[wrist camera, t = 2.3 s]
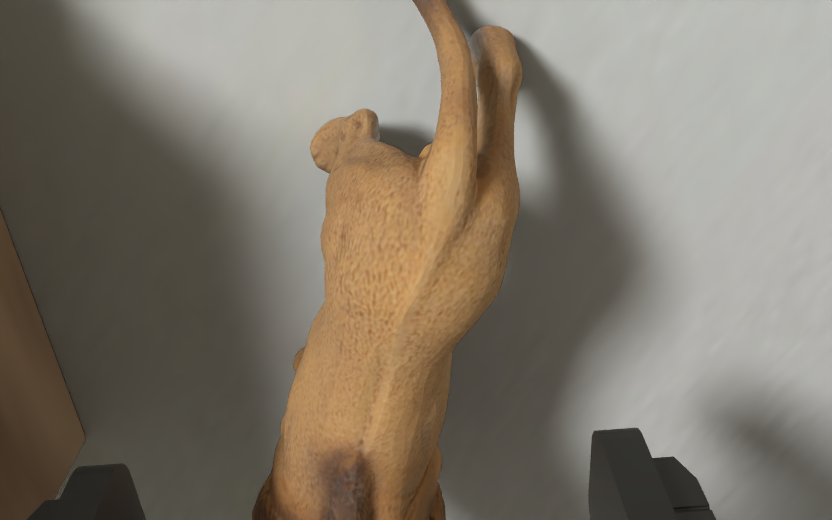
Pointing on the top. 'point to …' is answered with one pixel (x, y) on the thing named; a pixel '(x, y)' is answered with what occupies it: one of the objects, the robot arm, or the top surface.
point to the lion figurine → (399, 290)
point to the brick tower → (30, 399)
